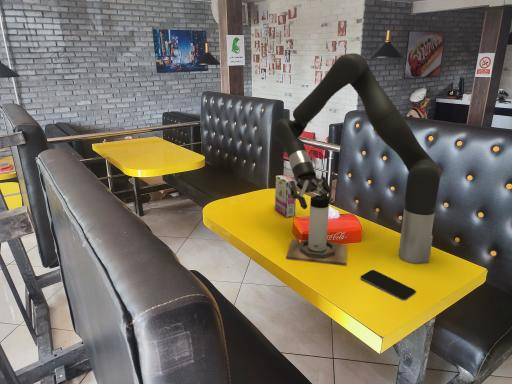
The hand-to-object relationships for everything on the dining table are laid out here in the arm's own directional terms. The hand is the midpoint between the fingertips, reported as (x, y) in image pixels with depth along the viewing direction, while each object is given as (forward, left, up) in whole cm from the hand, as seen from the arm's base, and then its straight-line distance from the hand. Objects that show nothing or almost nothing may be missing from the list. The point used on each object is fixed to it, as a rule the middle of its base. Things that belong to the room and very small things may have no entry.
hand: (316, 206), depth 126 cm
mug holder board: (-1, +2, -17) cm, 17 cm away
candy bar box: (+16, -33, -17) cm, 41 cm away
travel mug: (-1, +1, -16) cm, 16 cm away
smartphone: (-23, +18, -17) cm, 34 cm away
